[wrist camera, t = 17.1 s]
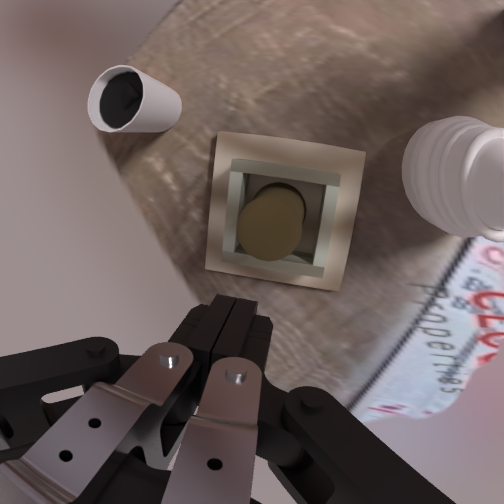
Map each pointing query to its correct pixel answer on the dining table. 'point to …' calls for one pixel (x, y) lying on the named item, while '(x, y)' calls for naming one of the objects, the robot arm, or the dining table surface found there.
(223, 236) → the stand
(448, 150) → the honey pot
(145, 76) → the white cup
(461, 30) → the dining table surface
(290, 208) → the brown rounded tapered piece
